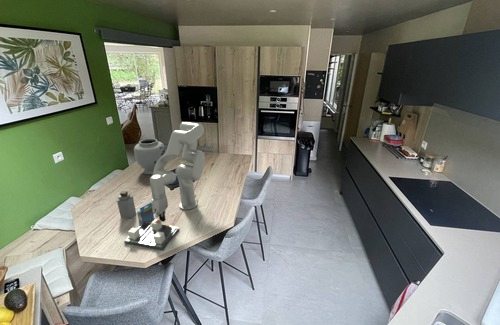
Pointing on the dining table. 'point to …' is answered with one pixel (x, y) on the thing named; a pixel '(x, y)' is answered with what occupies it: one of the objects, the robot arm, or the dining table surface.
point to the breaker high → (159, 237)
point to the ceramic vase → (148, 154)
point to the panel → (152, 236)
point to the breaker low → (133, 233)
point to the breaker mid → (156, 225)
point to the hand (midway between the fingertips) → (162, 220)
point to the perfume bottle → (126, 205)
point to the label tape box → (145, 213)
